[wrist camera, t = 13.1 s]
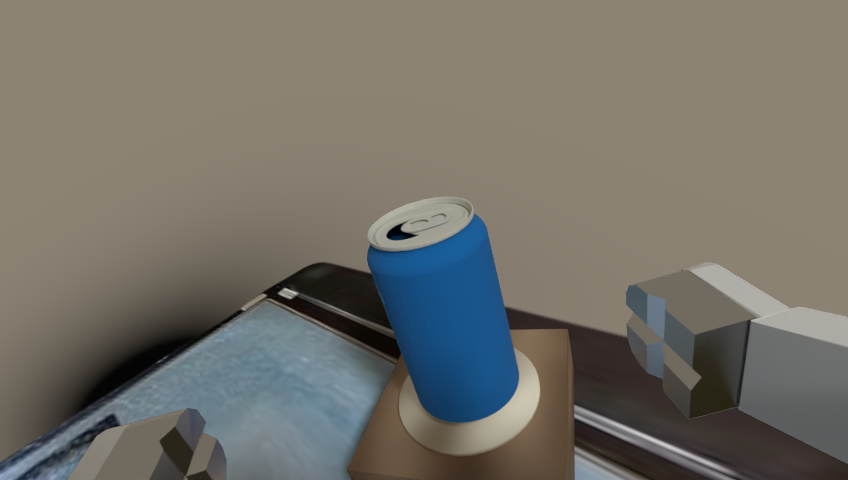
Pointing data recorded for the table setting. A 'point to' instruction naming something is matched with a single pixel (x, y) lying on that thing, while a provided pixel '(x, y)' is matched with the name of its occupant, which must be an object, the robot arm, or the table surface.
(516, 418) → the base block
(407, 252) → the beverage can
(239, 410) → the table surface
